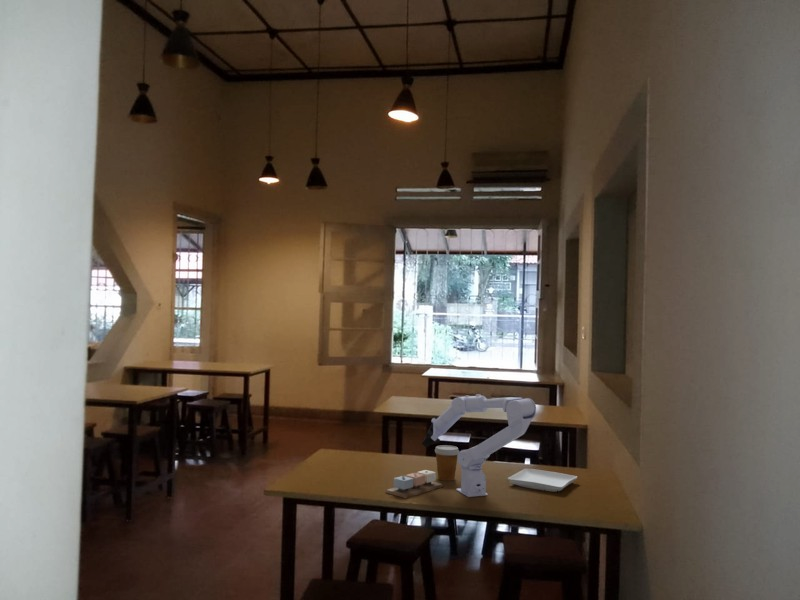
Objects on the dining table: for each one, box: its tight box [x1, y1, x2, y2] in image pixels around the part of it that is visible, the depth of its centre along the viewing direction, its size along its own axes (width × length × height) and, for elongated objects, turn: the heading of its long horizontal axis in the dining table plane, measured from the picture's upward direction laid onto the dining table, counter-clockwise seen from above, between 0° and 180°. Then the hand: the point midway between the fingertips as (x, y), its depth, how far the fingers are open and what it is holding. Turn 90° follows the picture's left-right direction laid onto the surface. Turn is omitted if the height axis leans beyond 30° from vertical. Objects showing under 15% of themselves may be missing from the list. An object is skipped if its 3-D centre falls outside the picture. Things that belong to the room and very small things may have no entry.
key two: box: [405, 472, 425, 486], centre depth 228 cm, size 5×5×3 cm
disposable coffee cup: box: [434, 444, 460, 482], centre depth 245 cm, size 10×10×12 cm
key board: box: [385, 481, 443, 499], centre depth 228 cm, size 21×9×3 cm, turn 139°
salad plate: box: [507, 468, 578, 493], centre depth 240 cm, size 21×21×3 cm
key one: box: [416, 469, 437, 483], centre depth 233 cm, size 5×5×3 cm
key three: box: [392, 475, 414, 490], centre depth 223 cm, size 5×5×3 cm
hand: (426, 439), depth 242 cm, fingers open, 7 cm apart
